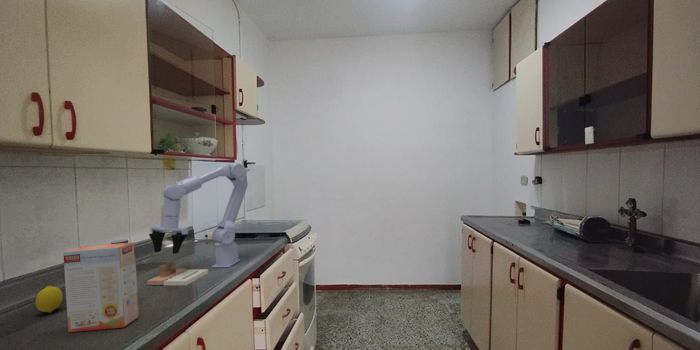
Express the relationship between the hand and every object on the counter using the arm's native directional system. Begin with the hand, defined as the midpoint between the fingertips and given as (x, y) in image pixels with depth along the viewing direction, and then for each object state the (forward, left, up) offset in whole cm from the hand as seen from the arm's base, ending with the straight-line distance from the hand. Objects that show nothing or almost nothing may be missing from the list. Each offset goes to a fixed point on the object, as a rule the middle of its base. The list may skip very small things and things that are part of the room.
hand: (166, 252), depth 106 cm
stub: (-1, -1, -10) cm, 10 cm away
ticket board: (-1, +7, -10) cm, 13 cm away
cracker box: (+31, +8, -11) cm, 34 cm away
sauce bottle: (+20, +3, -11) cm, 23 cm away
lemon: (+25, -17, -11) cm, 32 cm away
